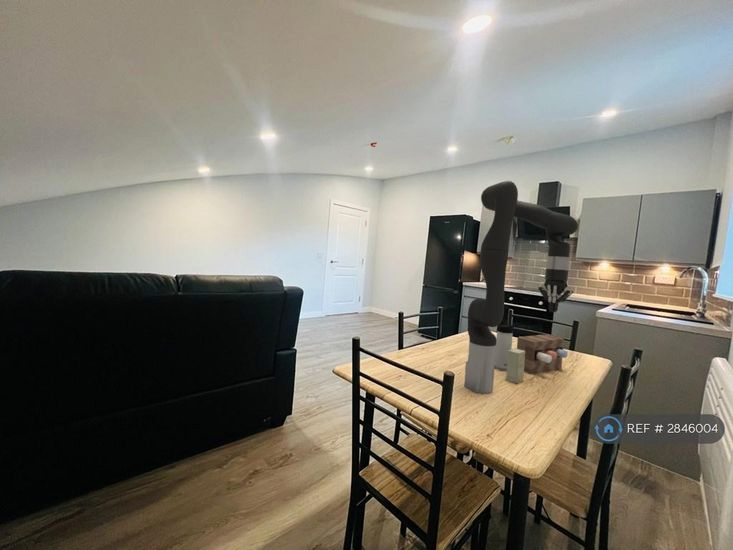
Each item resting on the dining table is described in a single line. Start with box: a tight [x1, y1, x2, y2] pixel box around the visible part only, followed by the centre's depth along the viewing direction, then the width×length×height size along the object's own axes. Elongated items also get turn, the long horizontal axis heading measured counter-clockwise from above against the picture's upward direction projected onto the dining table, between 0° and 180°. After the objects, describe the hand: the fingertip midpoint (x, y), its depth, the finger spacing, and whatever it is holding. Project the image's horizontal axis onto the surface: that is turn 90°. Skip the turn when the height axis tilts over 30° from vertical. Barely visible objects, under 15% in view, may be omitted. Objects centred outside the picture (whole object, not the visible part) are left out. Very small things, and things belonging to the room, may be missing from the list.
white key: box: [537, 352, 552, 363], centre depth 122 cm, size 3×4×3 cm
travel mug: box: [494, 324, 515, 372], centre depth 128 cm, size 6×7×20 cm
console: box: [516, 333, 565, 375], centre depth 131 cm, size 20×8×14 cm, turn 114°
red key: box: [545, 349, 557, 360], centre depth 127 cm, size 3×4×3 cm
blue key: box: [556, 348, 569, 359], centre depth 130 cm, size 3×4×3 cm
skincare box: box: [505, 347, 525, 384], centre depth 116 cm, size 6×4×12 cm
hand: (552, 311), depth 115 cm, fingers closed
